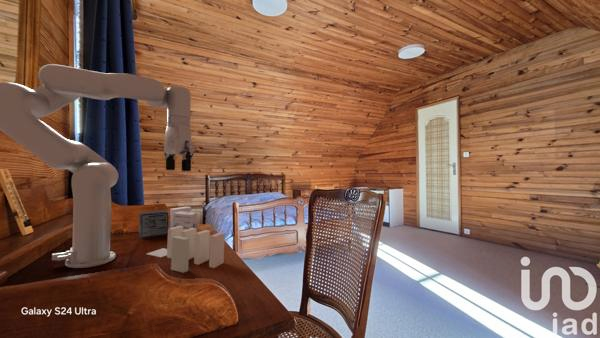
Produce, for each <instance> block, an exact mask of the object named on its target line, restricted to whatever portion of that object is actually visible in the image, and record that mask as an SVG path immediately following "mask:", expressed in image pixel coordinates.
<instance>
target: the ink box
mask: <svg viewBox="0 0 600 338" xmlns="http://www.w3.org/2000/svg"><path fill="white" fill-rule="evenodd" d="M198 215H199V213H198V212H193V211H191V212H182V211H180V212H177V213H174V214H173V227H177V226H183V230H186V229H190V228H196V233H198V221H199V220H198Z"/></svg>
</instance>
